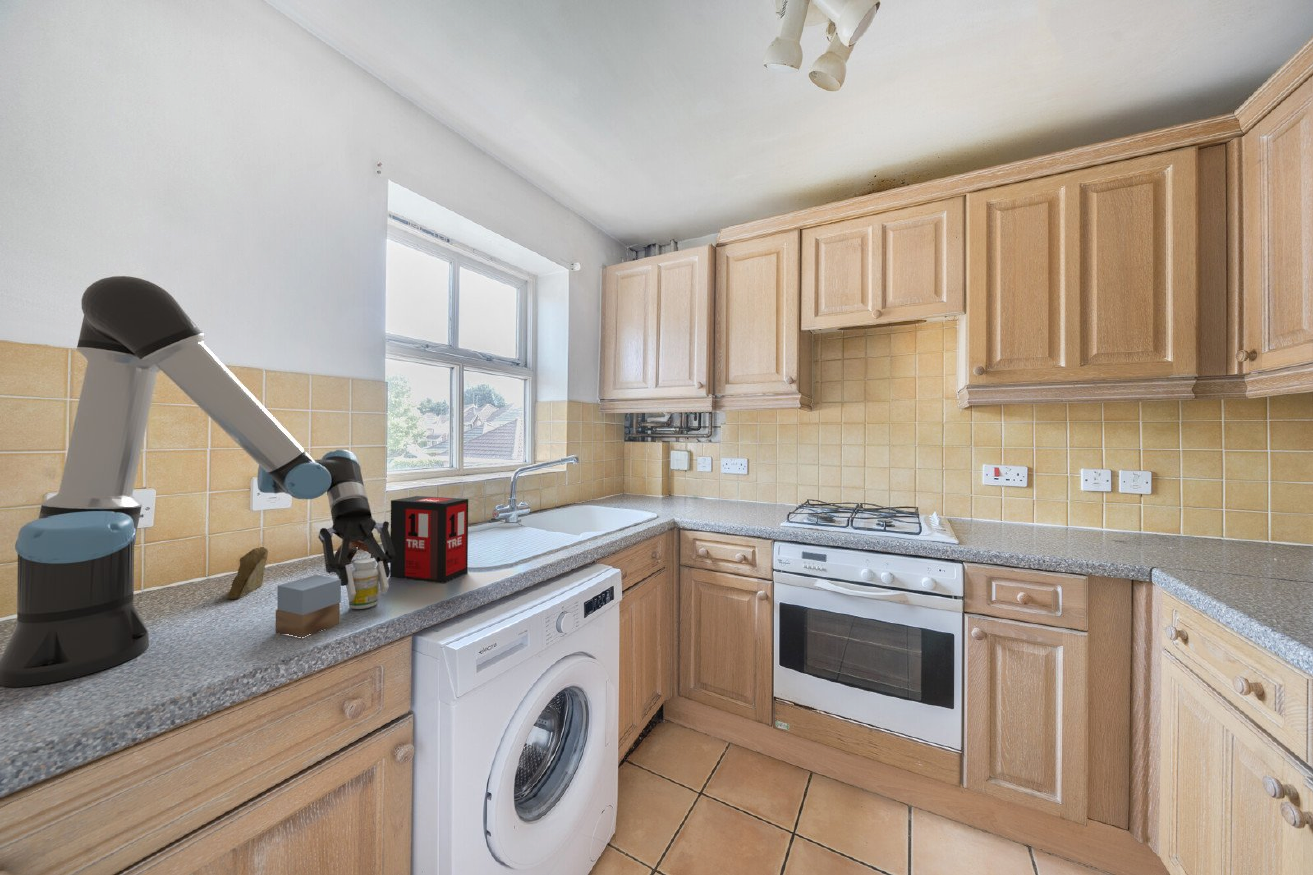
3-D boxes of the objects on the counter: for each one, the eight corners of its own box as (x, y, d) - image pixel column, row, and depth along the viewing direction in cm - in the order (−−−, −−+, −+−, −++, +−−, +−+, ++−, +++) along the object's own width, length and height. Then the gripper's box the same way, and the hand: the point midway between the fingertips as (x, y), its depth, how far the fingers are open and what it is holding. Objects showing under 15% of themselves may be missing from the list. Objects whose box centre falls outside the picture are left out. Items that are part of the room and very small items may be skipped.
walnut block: (301, 639, 83) (301, 615, 83) (275, 633, 85) (275, 609, 85) (339, 624, 90) (339, 601, 90) (314, 619, 92) (314, 597, 92)
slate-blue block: (302, 615, 83) (302, 590, 83) (277, 609, 85) (277, 585, 85) (340, 602, 89) (340, 579, 89) (316, 597, 92) (316, 574, 92)
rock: (244, 591, 100) (286, 571, 110) (219, 560, 100) (264, 543, 110) (215, 616, 102) (259, 595, 112) (190, 586, 102) (236, 567, 112)
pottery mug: (334, 562, 133) (351, 535, 136) (366, 575, 135) (383, 548, 138) (320, 562, 122) (339, 533, 125) (355, 576, 124) (373, 547, 127)
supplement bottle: (374, 608, 97) (375, 562, 97) (345, 610, 95) (346, 564, 95) (380, 599, 102) (381, 556, 102) (353, 601, 100) (354, 558, 100)
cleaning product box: (390, 577, 118) (390, 500, 118) (416, 567, 127) (416, 495, 127) (444, 583, 114) (445, 503, 114) (467, 573, 123) (468, 498, 123)
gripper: (389, 512, 116) (411, 593, 104) (298, 520, 102) (312, 614, 91) (396, 493, 112) (420, 575, 101) (303, 499, 99) (319, 594, 87)
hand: (369, 593), depth 96 cm, fingers closed on supplement bottle, 5 cm apart
